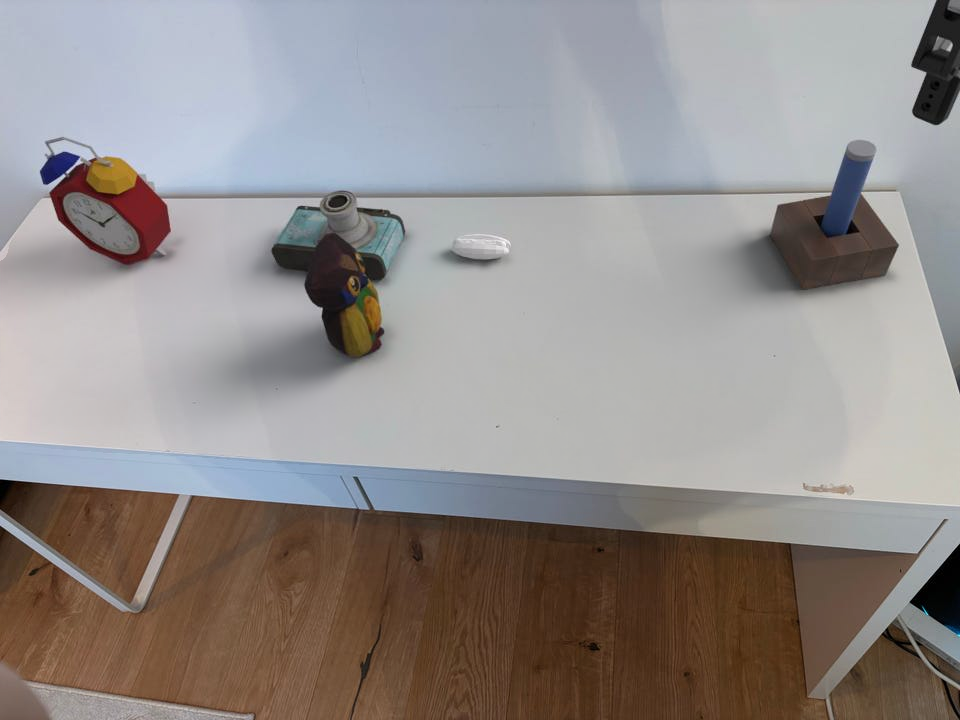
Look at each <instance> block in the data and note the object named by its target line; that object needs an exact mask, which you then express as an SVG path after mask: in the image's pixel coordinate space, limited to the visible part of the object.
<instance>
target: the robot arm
mask: <svg viewBox="0 0 960 720" xmlns="http://www.w3.org/2000/svg"><path fill="white" fill-rule="evenodd" d="M951 45H952V46H951ZM950 46H951V48H950ZM949 48H950V50H948V49H949ZM910 66H911V68H913V69H915V70H918V71H921V72H923V73H925V76H924V78H923V80H922V83H921V86H920V88H919V91H918V93H917V96H916V99H915V101H914V104H913V106H912V109H911V114H912V116H914V118H916V119H918V120H920V121H923V122H926V123H928V124H931V125H932V126H939V125H941V124H942V123H944V122H945V121H947V120H948V119H949V117H950V114H951V112H952V110H953V108H954V105H955V103H956V101H957V98H958V97H959V94H960V0H935V2H934V4H933V8H932V10H931V12H930V15H929V18H928V20H927V22H926V26H925V28H924V30H923V33H922V35H921V38H920V40H919V42H918V45H917V48H916V50H915V53H914V55H913V58H912V60H911V63H910Z"/></svg>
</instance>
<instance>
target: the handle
mask: <svg viewBox="0 0 960 720" xmlns="http://www.w3.org/2000/svg"><path fill="white" fill-rule="evenodd" d="M876 152H877V147H876V145H875V144H874V143H872V142H870V141H868V140H865V139H855V140H852V141H850V142H848V143H847V145H846V147H845V151H844V153H843V156H842V159H841V162H840V165H839V169H838V171H837V172H838V173H837V175H836V179H835V181H834V185H833V188H832V191H831V193H830V195H831V196H830V195H829V196H830V199H829V202H828V206H827V209H826V212H825V215H824V218H823V221H822V224H821V227H820V228H821V230H822V231H823V233H824V234H825V236H826V237H827V238H830V237H836V236H841V235H846V232H847V230H848V227H849V224H850V221H851V219H852V216H853V213H854V210H855V208H856V205H857V202H858V199H859V197H860V194H862V191H863V188H864V186H865V184H866V183H865V182H866V180H867V179H868V175H869V172H870V169H871V166H872V164H873V161H874V158H875V155H876Z"/></svg>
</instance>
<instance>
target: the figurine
mask: <svg viewBox="0 0 960 720" xmlns="http://www.w3.org/2000/svg"><path fill="white" fill-rule="evenodd" d="M364 273H365V267H364V263H363V260H362V258H361V256H360V254H359V253H358V252H357V251H356V249H355V248H354V247H352V246H351V245H350V244H349V243H348V242H346V241H345V240H344V239H342V238H341V237H340V236H338V235H337V234H336V233H335V232H334V233H330V234H326V235H325V236H324V237H323V238H322V239H321V241H320V242H319V243H318V244H317V246H316V248H315V251H314V254H313V257H312V259H311V262H310V264H309V266H308V271H306V277H305V280H304V284H303V286H304V289H305V293H306V294H307V297H308V298H309V300H310V302H311V303H312V304H313V305H315V306H316V307H317V308H321V309H322V310H321V320H322V323H323V327H324V330H325V334H326V337H327V340H328V343H329V344H330V345H331V347H333V348H334V349H335V350H336V351H337V352H339V353H341V354H342V355H344V356H346V357H349V358H351V357H352V358H355V357H356V358H359V357H362V356H364V355H368V354H369V353H373V352H376V351H379V350H380V348H381V347H382V345H383V343H382V341H381V340H380V338H381V337H383V336H384V335H385V329H384V328H383V327H382V326H381V325H382V319H383V318H382V310H381V305H380V300H379V299H380V298H379V294H378V290H377V289H376V287H375V286H374V284H373V283H372V281H371V279H370V278H368V277H367V276H366V275H365V274H364Z"/></svg>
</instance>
